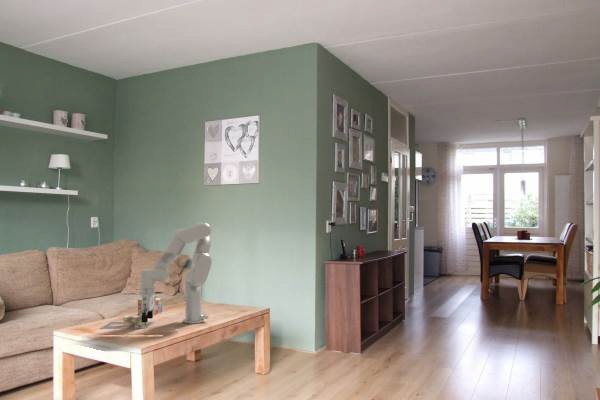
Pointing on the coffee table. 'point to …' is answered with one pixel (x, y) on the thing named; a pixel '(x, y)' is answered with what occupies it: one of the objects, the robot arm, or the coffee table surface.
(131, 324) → the T block
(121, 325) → the board
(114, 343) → the coffee table surface
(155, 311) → the stack of blocks
